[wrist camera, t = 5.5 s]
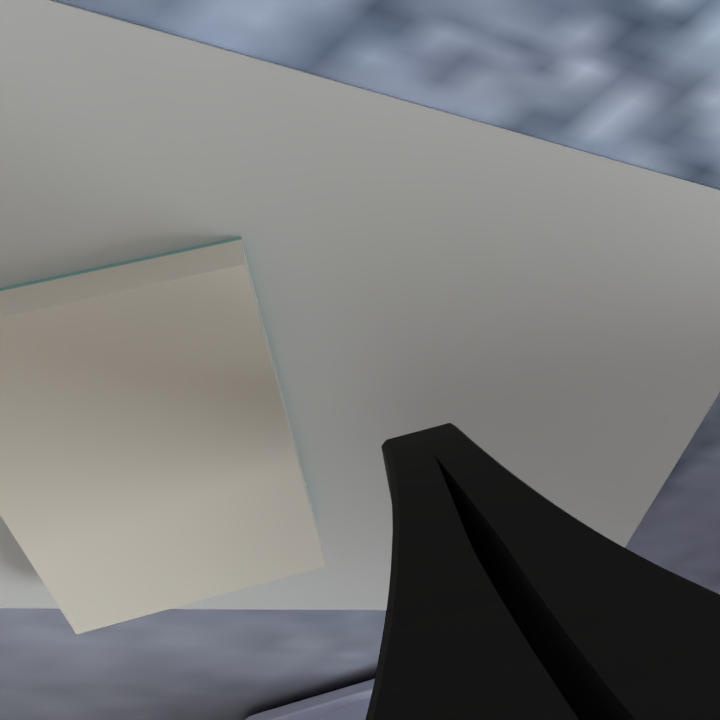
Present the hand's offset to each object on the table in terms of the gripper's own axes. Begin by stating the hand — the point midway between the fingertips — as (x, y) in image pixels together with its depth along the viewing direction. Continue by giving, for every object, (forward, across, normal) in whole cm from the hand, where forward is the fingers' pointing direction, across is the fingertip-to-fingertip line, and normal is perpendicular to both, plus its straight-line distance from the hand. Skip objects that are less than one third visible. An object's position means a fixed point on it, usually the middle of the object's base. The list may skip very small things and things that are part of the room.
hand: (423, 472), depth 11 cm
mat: (+4, 0, +1) cm, 4 cm away
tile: (+3, +2, 0) cm, 4 cm away
